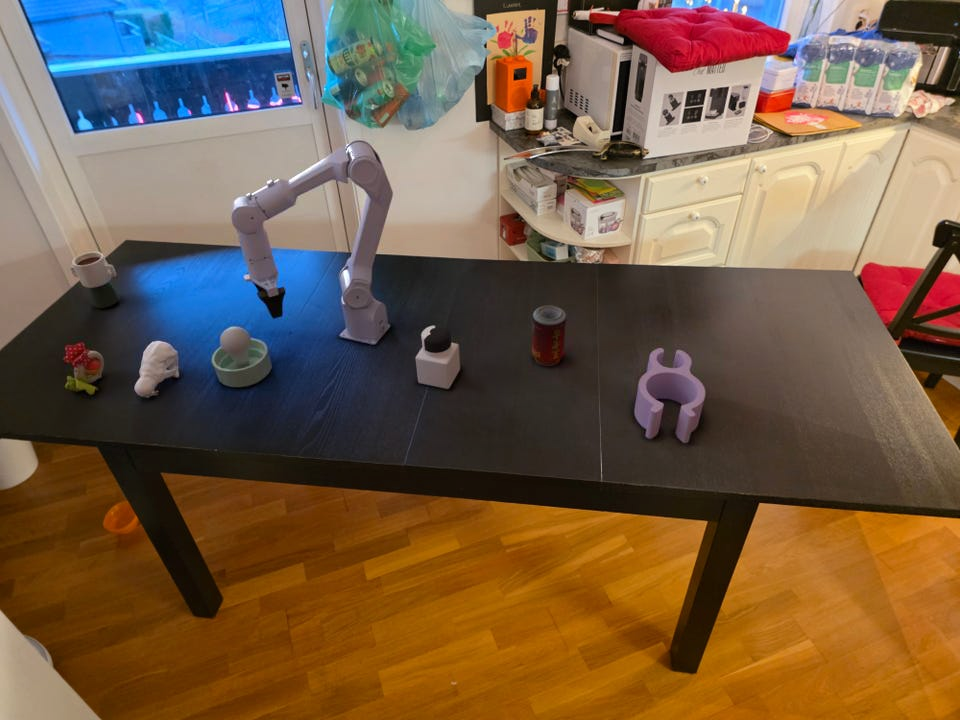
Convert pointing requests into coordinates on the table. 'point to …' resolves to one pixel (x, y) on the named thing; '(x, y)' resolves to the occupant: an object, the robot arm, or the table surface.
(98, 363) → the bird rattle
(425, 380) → the medicine bottle
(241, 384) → the bowl
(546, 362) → the soda can
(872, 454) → the table surface
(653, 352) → the clip
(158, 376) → the white crouching figurine
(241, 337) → the lightbulb
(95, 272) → the character mug
